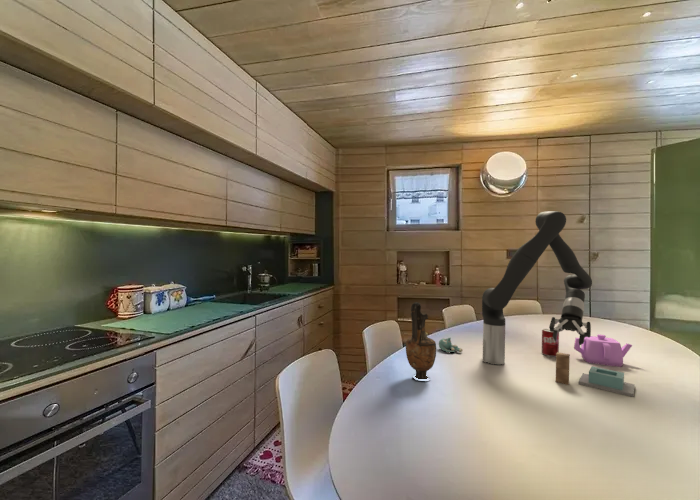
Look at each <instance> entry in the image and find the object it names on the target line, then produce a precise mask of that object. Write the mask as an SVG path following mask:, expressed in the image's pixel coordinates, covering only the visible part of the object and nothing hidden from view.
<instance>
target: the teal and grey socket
mask: <svg viewBox="0 0 700 500" xmlns="http://www.w3.org/2000/svg"><path fill="white" fill-rule="evenodd" d="M577 383H578V385H581V386H586V387H589V388H593V389H597V390H602V391H607V392H611V393H616V394H619V395H624V396H628V397H632V398H633V397H634V394H635V387H636V386H635V384H634V383H629V382H626V381H625V372H621V371H617V370H613V369H612V370H611V369H607V368H603V367H596V366H594V365H593V366H591V367H590V369H588V373H582V375H581V376H580V377H579V380H578V381H577Z"/></svg>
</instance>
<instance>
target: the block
mask: <svg viewBox="0 0 700 500" xmlns="http://www.w3.org/2000/svg"><path fill="white" fill-rule="evenodd" d="M570 357H571V356H570V354H569V353H565V352H564V353H563V352H560V351H559V352H557V353H556V357H555V383H558V384H563V385H565V386H568V385H570Z"/></svg>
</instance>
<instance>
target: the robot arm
mask: <svg viewBox="0 0 700 500" xmlns="http://www.w3.org/2000/svg"><path fill="white" fill-rule="evenodd" d="M566 224H567V216H566V214H565V213H563V212H561V211H557V210H555V211H554V210H553V211H548V210H547V211H541V212H539V213H537V215H536V217H535V225H536V227H537V230H538V232H537V233H536V234H534V236H533V237H532V238H530V239H529V240H528V241H526V242H525V243H524V244H522V245H521V246H519V248H518V249H517V250H516V251H515V253H514V254H513V255H512V257H511V258H510V260H509V262H508V264H507V266H506V268H505V272H504V274H503V277H502V278H501V280H500V281H499V283H498V284H497V285H496V286H495V287H489V288H487V289H485V290H484V291H483V292H482V296H481V313H482V319H483V321H482V323H483V325H482V326H483V327H482V328H483V329H482V330H483V332H482V333H483V334H482V362H483V361H485V362H484V363H486V362H488V363H487V364H489V363H491V364H490V365H494V364H502V365H504V364H505V363H506V361H505V360H506V356H505V355H506V318H505V315H504V308H506V307H507V305H508V304H509V303H510V301H511V299H512V297H513V296H514V294H515V292H516V290H517V289H518V287H519V286H520V284H521V283H522V282H523V281H524V279H525V278H526V277H527V276H528V274H529V273H530V271H531V270H532V268H533V267H534V266H535V265H536V263H537V262H538V260H539V259H540V258H541V256H542V255H543V253H544V252H545V251H546V249H547V248H548V246H549V247H550V248H551V250H552V252H553V253H554V255H555V257H556V259H557V261H558V265H559V266H560V268H561V270H562V271H563V272H564V273H566V274H568V275H566V276H565V277H564V279H563V284H564V288H565V298H564V302H563V305H562V308H561V309H562V310H561V315H560V318H556V317H554V316H553V317H551V320H550V322H549V323H550V324H549V327H548V329H550V331H551V332H553V339H554V340H555V341H557V337H558V333H559V334H560V332H563V331H564V330H565V331H571V332H575V331H576V333H577V334H578V335H579V337H578V338H579V345H580V346H581V345H582V344H583V343H584V338H585V337H591V336H592V334H591V333H592V329H591V328H592V324H591V322H590V321H587V322H584V321H583V318H584V312H585V298H586V294H585V291H584V290H585V289H586V290H587V289H590V288H591V287H592V286H593V279H592V278H591V276H590V275H589V273H588V272H587V271H586V270H585V269H584V268H583V267H582V266H581V265H580V263H579V261H578V259H577V256H576V254H575V252H574V251H573V249H572V248H571V246H569V245H568V244H567V243H566V241H565V240H564V239H563V237H562V236H561V235H560V233H561V232H562V230H563V229H564V228H565V227H566ZM558 323H559V324H558ZM557 324H558V325H557ZM582 327H584V328H585V329H586V331H585V332H584V330H582Z"/></svg>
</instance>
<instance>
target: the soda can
mask: <svg viewBox="0 0 700 500" xmlns="http://www.w3.org/2000/svg"><path fill="white" fill-rule="evenodd" d="M559 350H560V332H559V333H558V337H557V341H555V340H554V339H553V332H551V331H550V328H543V329H542V330H541V354H542V355H543V354H544V355H543V356H546V357H551V358H553V357H554V358H556V353H557V352H559V353H560V351H559Z"/></svg>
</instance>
